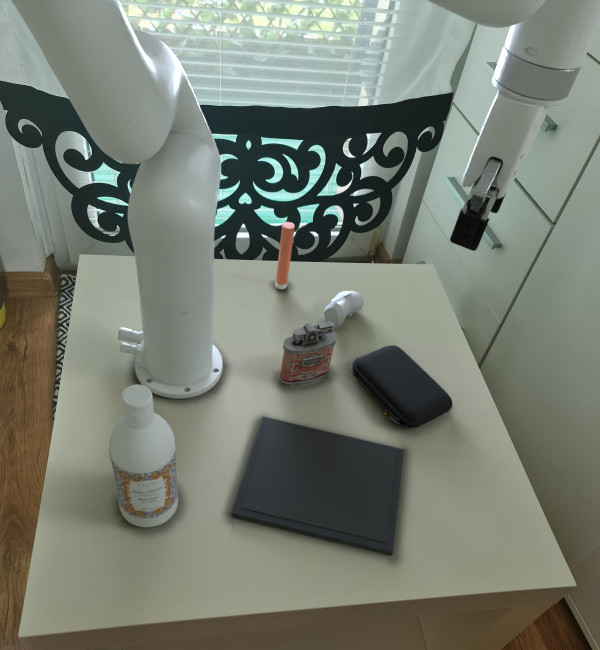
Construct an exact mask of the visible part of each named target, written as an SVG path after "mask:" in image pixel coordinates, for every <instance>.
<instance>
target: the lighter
mask: <svg viewBox="0 0 600 650" xmlns="http://www.w3.org/2000/svg"><path fill="white" fill-rule="evenodd" d="M335 328H336V326H335V325H334V324H333V323H332V322H327V321H326V322H323V323H318V324H314V325H313V323H311V322H309V323H305V324H304V325H303V326H302V327H299V328H295V329H293V332H292V336H289V337H287V338H285V339H284V341H283V345H282V347H283V355H282V360H281V368H280V372H279V375H278V383H279V384H280V385H281V386H283V387H285V388H291V387H292V388H293V387H294V388H295V387H302V386H308V385H311V384H312V385H313V384H315V383H318V382H320V381H323V380H325V379H327V378H328V377H329V376H330V371H331V369H330V367H331V362H332V356H333V354H334V348H335V345H336V344H337V341H338V336H337V334H336V333H335Z"/></svg>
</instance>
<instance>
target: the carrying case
mask: <svg viewBox="0 0 600 650" xmlns="http://www.w3.org/2000/svg"><path fill="white" fill-rule="evenodd" d="M351 371H352V374H353V376H354V377H355V378H356V380H358V381H359V383H360V384H361V385H362V386H363V387H364V388H365V389H366V390H367V391H368V393H370V394H371V395H372V396H373V398H374V399H375V400H376V401H377V402H378V403H379V404H380V405H381V406H382V407H383V408H384V409H382V414H383V416H385V417H386V418H387V419H389V420H391V421H393V422H394V423H396V424H397V425H401V426H403V427H406V428H409V429H416V428H417V429H418V428H420V427H422V426H423V425H425V424H427V423H430V422H431V421H434V420H435V419H437V418H439V417H441V416H443V415H445V414H446V413H449V412H450V411H451V410H452V408H453V399H452V397H451V396H450V394H449V393H448V392H447V391H446V390H445V389H444V388H443V386H441V385H440V384H439V383H438V382H437V381H436V380H435V379H434V378H433V377H432V376H431V375H429V373H428V372H427V371H426V370H425V369H423V367H422V366H420V365H419V364H418V363H417V362H416V361H415V360H414V359H413V358H412V357H411V356H410V355H409V354H408V353H407V352H405V350H403V349H402V348H401V347H399V346H398V345H395V344H391V345H386V346H383V347H380V348H379V349H376V350H374V351H371V352H369V353H366V354H364V355H362V356H360V357H357V358H356V359H354V361H353V362H352V365H351Z"/></svg>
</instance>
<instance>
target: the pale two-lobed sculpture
mask: <svg viewBox="0 0 600 650" xmlns="http://www.w3.org/2000/svg"><path fill="white" fill-rule="evenodd" d="M364 305H365V299H364V296H363V295H362V294H361V293H360V292H359V291H356V290H343V291H340V292H339V293H338V294H336V295H335V297H333V298H332V299H331V300H330V303H328V304H327V305H326V306H325V308H324V312H323V316H324V319H325V321H326V323H327V322H332V323H333V324H334V325H335V327H340V326H342V325H343V323H344V321H345V318H346V317H351V316H352V315H353V314H354V313H357V312H359V311H360V310H362V308H363V307H364Z"/></svg>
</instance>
